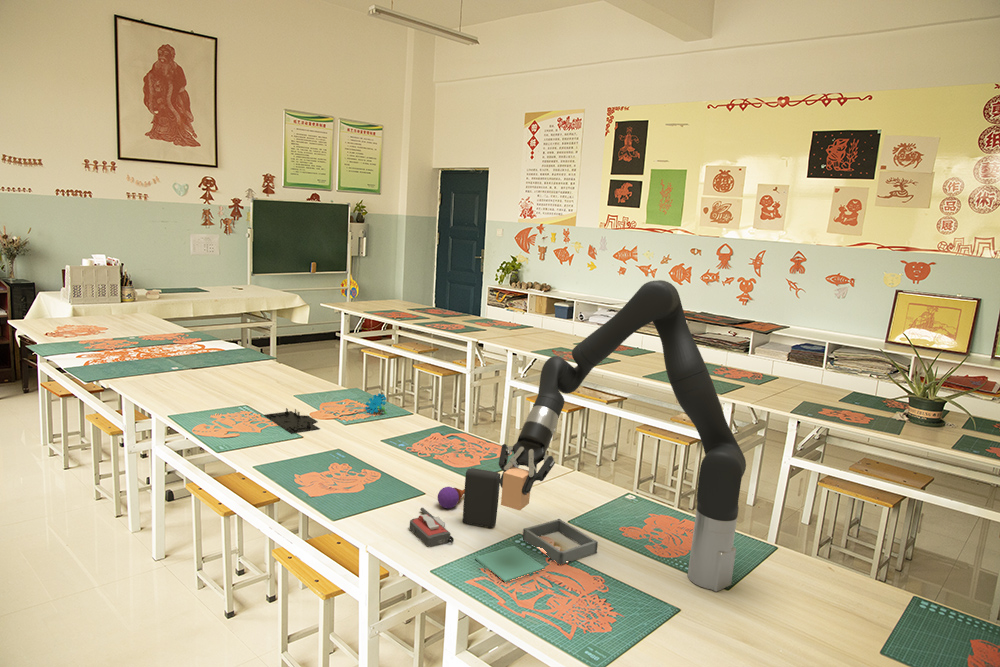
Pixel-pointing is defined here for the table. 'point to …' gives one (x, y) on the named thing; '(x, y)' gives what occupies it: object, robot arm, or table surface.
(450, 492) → the kendama
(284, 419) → the circuit board
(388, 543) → the table surface
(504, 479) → the block
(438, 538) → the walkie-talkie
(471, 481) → the card reader
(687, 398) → the robot arm
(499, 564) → the mat
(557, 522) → the grey rectangular frame
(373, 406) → the gear
